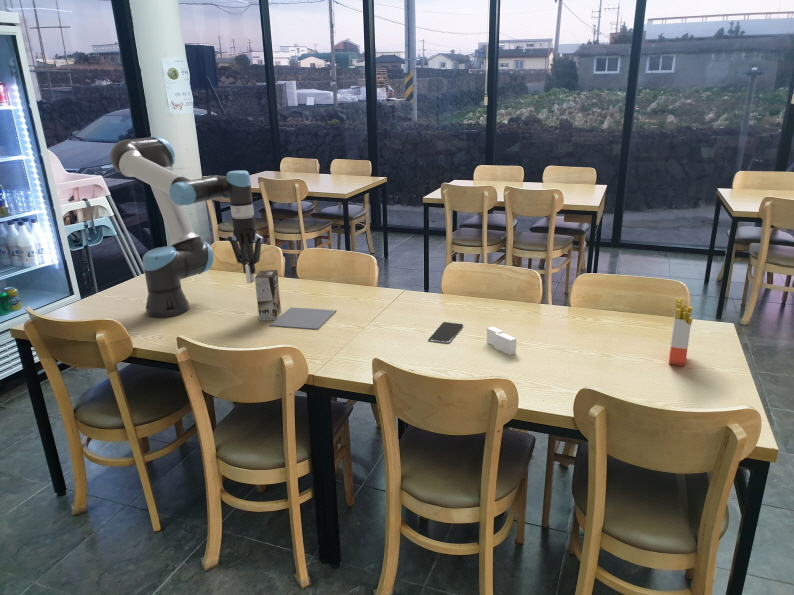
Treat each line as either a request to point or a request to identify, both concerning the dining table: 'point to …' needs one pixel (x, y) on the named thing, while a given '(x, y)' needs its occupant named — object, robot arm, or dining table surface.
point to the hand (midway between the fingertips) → (250, 282)
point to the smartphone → (445, 332)
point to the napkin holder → (501, 340)
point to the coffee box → (268, 295)
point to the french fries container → (680, 334)
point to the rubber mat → (303, 318)
